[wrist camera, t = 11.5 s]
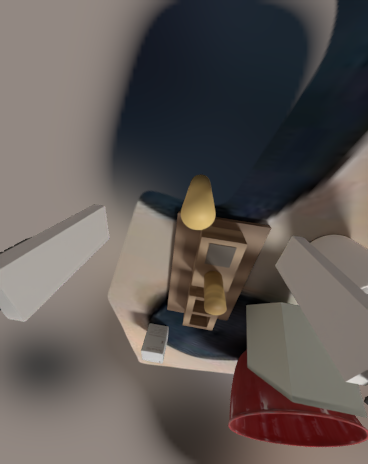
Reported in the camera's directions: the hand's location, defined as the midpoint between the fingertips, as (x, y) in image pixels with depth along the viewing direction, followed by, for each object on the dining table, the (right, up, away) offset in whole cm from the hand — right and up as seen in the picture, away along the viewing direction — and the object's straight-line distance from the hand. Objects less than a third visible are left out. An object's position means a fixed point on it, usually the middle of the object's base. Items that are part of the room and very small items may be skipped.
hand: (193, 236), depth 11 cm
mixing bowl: (+26, -38, +37) cm, 59 cm away
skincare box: (-9, -30, +37) cm, 49 cm away
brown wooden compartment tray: (+5, -9, +23) cm, 25 cm away
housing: (+20, -15, +20) cm, 32 cm away
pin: (+2, +8, +13) cm, 16 cm away
